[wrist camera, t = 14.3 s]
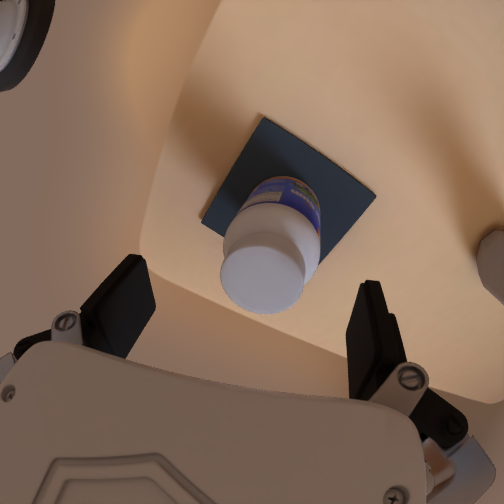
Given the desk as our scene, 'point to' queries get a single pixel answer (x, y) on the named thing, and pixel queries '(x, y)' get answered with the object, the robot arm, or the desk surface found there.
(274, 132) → the mat
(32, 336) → the robot arm
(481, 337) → the desk surface
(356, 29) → the desk surface
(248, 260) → the pill bottle
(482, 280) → the salt shaker
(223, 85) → the desk surface
